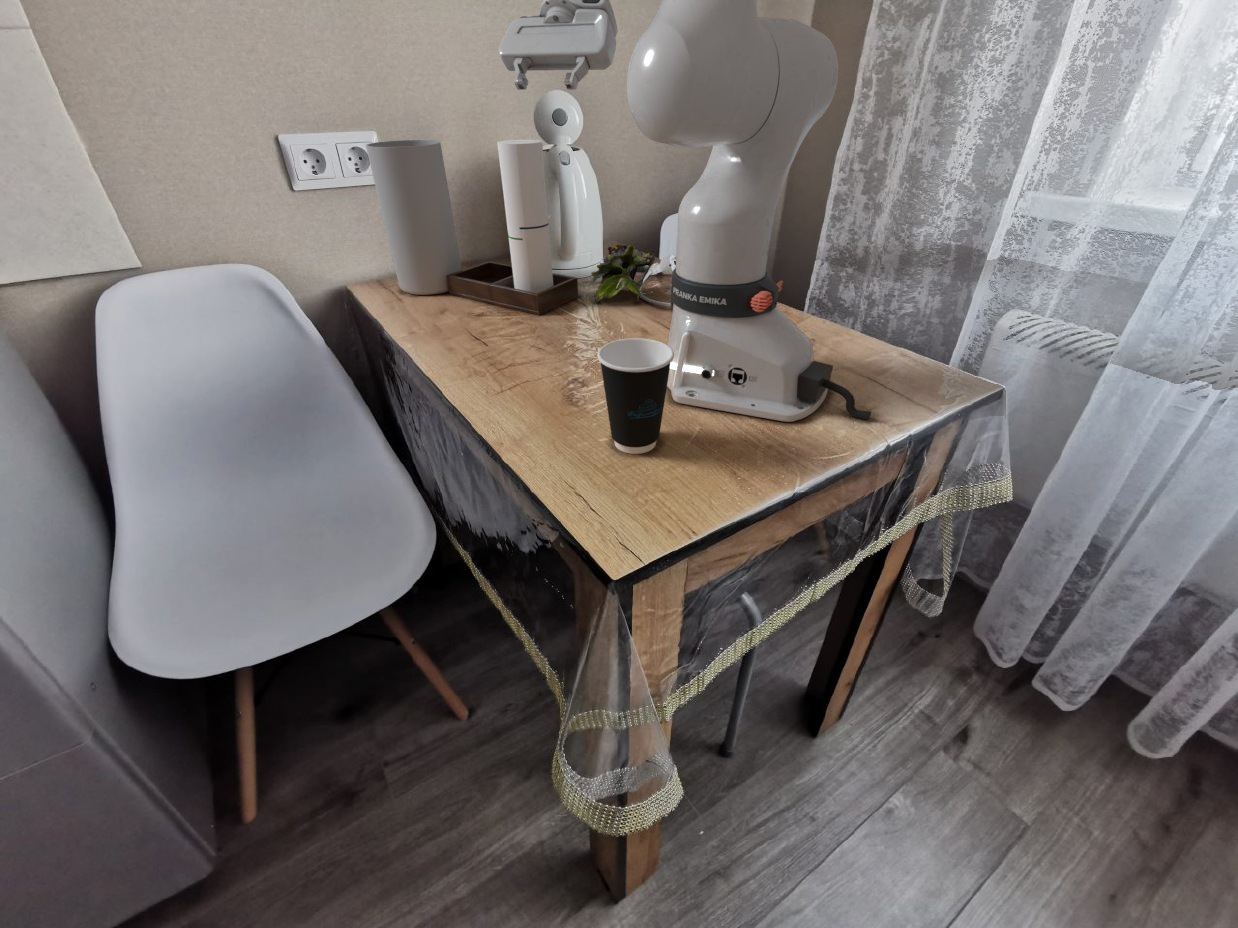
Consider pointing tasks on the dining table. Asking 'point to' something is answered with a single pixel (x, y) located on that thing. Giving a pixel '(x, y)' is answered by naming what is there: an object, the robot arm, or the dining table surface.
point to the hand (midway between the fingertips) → (544, 86)
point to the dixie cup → (635, 390)
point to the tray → (509, 288)
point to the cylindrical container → (526, 213)
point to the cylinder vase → (416, 213)
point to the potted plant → (621, 271)
